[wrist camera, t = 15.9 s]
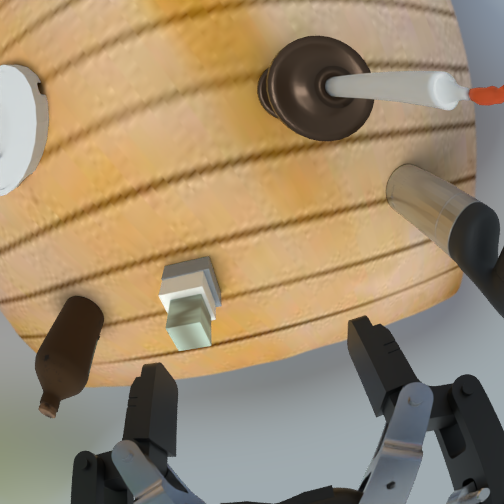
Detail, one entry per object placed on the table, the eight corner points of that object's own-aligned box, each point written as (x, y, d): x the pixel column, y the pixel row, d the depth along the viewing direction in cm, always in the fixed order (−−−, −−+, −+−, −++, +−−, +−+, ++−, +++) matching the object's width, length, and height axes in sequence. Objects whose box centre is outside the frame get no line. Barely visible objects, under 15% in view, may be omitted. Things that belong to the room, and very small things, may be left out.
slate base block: (209, 255, 47) (208, 268, 43) (220, 291, 51) (221, 306, 48) (164, 265, 47) (161, 278, 43) (179, 299, 51) (177, 314, 48)
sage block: (201, 293, 41) (200, 322, 36) (211, 317, 43) (211, 345, 38) (170, 300, 41) (165, 328, 36) (181, 322, 43) (179, 351, 38)
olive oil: (55, 305, 48) (11, 398, 27) (80, 285, 47) (31, 391, 25) (88, 336, 54) (59, 430, 32) (116, 320, 52) (87, 427, 31)
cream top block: (203, 270, 44) (202, 286, 40) (215, 303, 47) (215, 319, 44) (162, 280, 44) (158, 295, 40) (177, 311, 47) (175, 327, 44)
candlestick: (272, 43, 30) (456, -82, 1) (337, 80, 34) (575, 107, 4) (237, 106, 35) (346, 137, 5) (304, 139, 38) (506, 280, 8)
